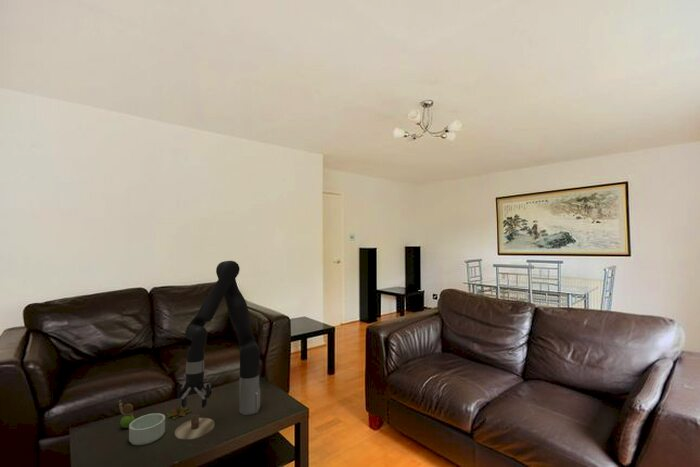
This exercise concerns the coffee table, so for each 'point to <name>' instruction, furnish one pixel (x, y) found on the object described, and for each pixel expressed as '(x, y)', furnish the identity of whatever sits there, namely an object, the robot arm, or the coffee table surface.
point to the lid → (194, 428)
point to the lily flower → (182, 410)
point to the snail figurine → (126, 415)
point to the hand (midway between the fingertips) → (194, 406)
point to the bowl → (146, 429)
